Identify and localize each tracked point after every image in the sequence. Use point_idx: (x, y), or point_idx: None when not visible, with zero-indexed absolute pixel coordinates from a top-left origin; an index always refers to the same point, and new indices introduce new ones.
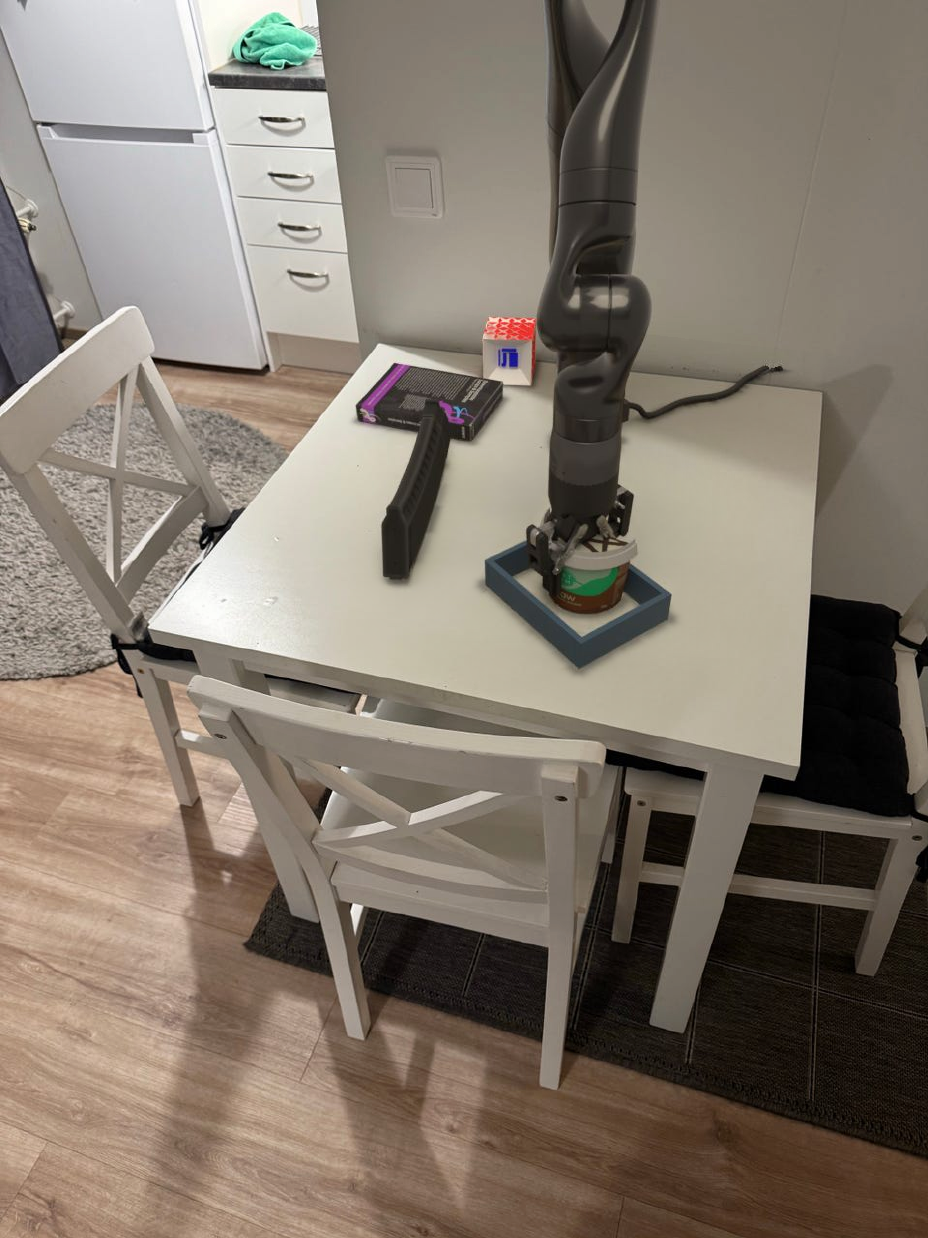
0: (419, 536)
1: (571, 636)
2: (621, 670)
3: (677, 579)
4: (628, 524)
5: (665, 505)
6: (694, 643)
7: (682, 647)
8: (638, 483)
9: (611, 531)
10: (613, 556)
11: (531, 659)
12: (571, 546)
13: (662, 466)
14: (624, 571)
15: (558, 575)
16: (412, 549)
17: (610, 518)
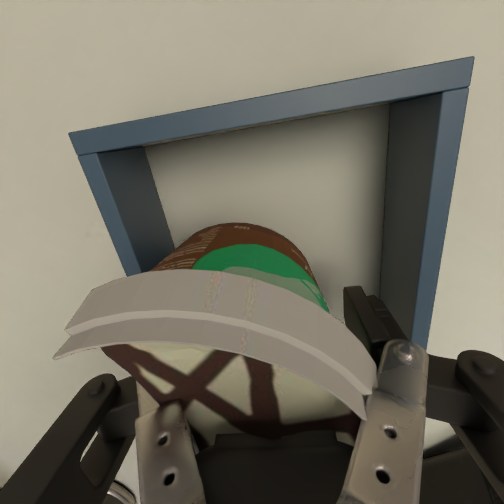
0: (425, 487)
1: (462, 116)
2: (321, 13)
3: (59, 230)
4: (64, 415)
5: (23, 378)
6: (92, 10)
7: (129, 13)
8: (50, 423)
9: (143, 427)
10: (207, 312)
11: (472, 171)
12: (401, 455)
13: (5, 431)
14: (168, 264)
15: (382, 333)
16: (479, 484)
17: (116, 458)
